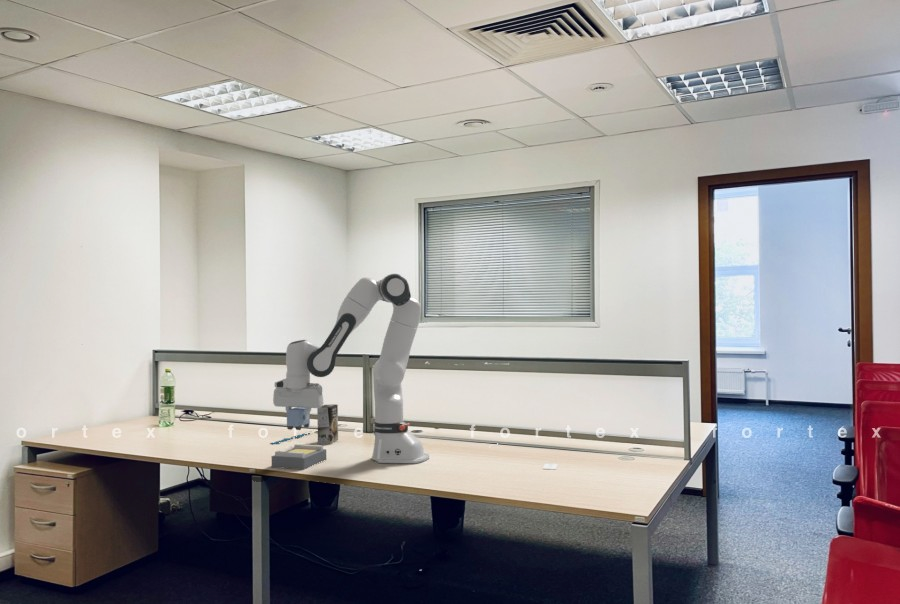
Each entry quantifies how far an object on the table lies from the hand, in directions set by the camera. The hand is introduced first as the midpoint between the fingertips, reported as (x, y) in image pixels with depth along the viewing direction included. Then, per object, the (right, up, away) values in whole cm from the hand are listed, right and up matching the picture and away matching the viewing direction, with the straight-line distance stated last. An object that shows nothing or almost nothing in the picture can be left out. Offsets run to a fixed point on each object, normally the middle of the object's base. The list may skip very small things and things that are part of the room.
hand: (298, 419), depth 254 cm
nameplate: (-12, -18, +54) cm, 58 cm away
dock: (0, -17, 0) cm, 17 cm away
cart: (0, -4, 0) cm, 4 cm away
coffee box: (+4, -17, +40) cm, 44 cm away
